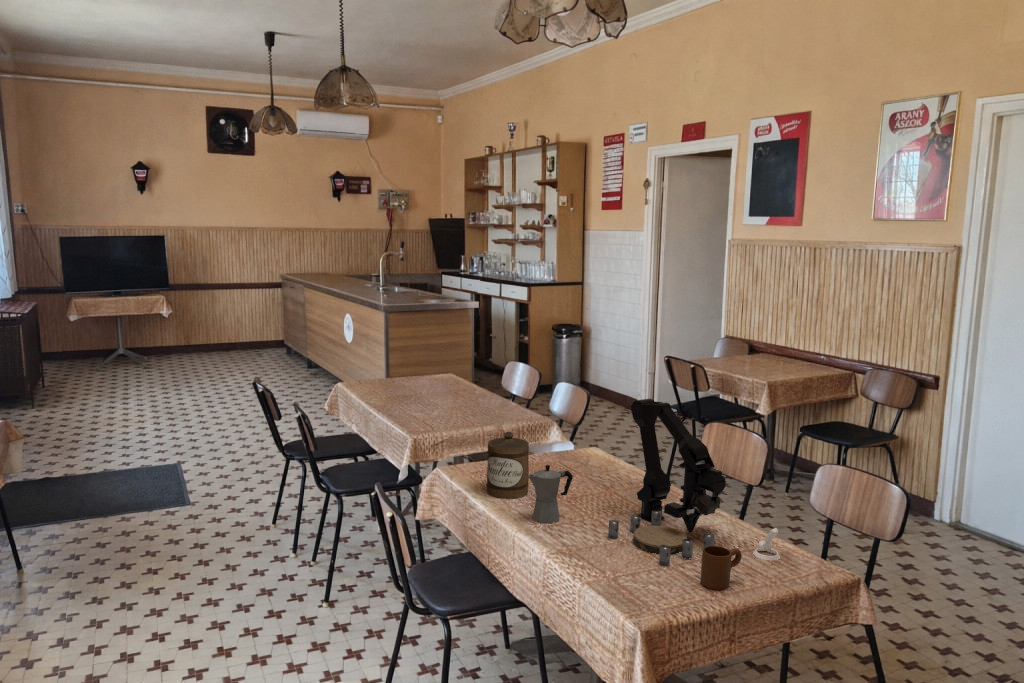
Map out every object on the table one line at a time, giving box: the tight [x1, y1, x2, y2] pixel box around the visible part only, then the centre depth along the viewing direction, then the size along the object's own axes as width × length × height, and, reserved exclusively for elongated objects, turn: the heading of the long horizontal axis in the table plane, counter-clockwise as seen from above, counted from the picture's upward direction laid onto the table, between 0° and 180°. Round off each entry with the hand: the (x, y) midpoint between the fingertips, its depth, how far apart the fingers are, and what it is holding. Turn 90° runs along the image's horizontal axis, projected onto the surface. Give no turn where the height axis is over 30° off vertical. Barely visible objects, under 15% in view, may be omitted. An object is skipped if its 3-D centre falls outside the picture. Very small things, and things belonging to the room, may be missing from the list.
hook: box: [752, 527, 781, 561], centre depth 220 cm, size 8×12×7 cm
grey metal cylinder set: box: [607, 509, 715, 567], centre depth 229 cm, size 25×21×5 cm
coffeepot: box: [528, 464, 573, 524], centre depth 247 cm, size 15×9×18 cm, turn 107°
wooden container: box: [486, 431, 530, 499], centre depth 271 cm, size 15×15×22 cm
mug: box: [700, 545, 743, 591], centre depth 204 cm, size 12×8×9 cm, turn 114°
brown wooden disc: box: [632, 525, 688, 555], centre depth 229 cm, size 16×16×3 cm
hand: (690, 532), depth 237 cm, fingers closed
